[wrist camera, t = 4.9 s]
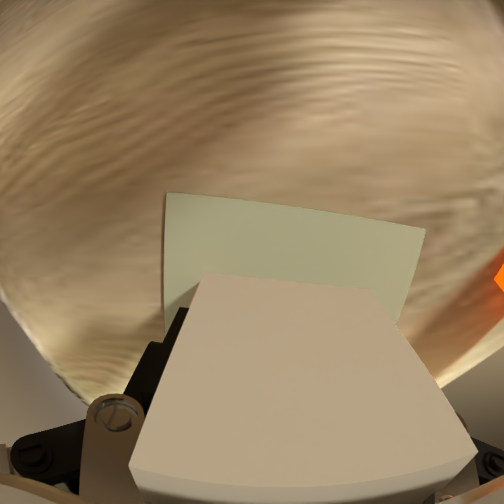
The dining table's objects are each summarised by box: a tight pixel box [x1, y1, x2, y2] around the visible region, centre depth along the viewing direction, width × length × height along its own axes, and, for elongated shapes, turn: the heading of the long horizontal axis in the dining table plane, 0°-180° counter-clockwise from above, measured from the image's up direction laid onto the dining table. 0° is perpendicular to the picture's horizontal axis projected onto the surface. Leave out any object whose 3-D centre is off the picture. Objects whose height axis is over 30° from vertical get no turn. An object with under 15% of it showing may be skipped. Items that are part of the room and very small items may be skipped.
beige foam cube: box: [128, 272, 478, 504], centre depth 7 cm, size 5×5×7 cm
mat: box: [164, 192, 426, 336], centre depth 25 cm, size 15×22×1 cm
